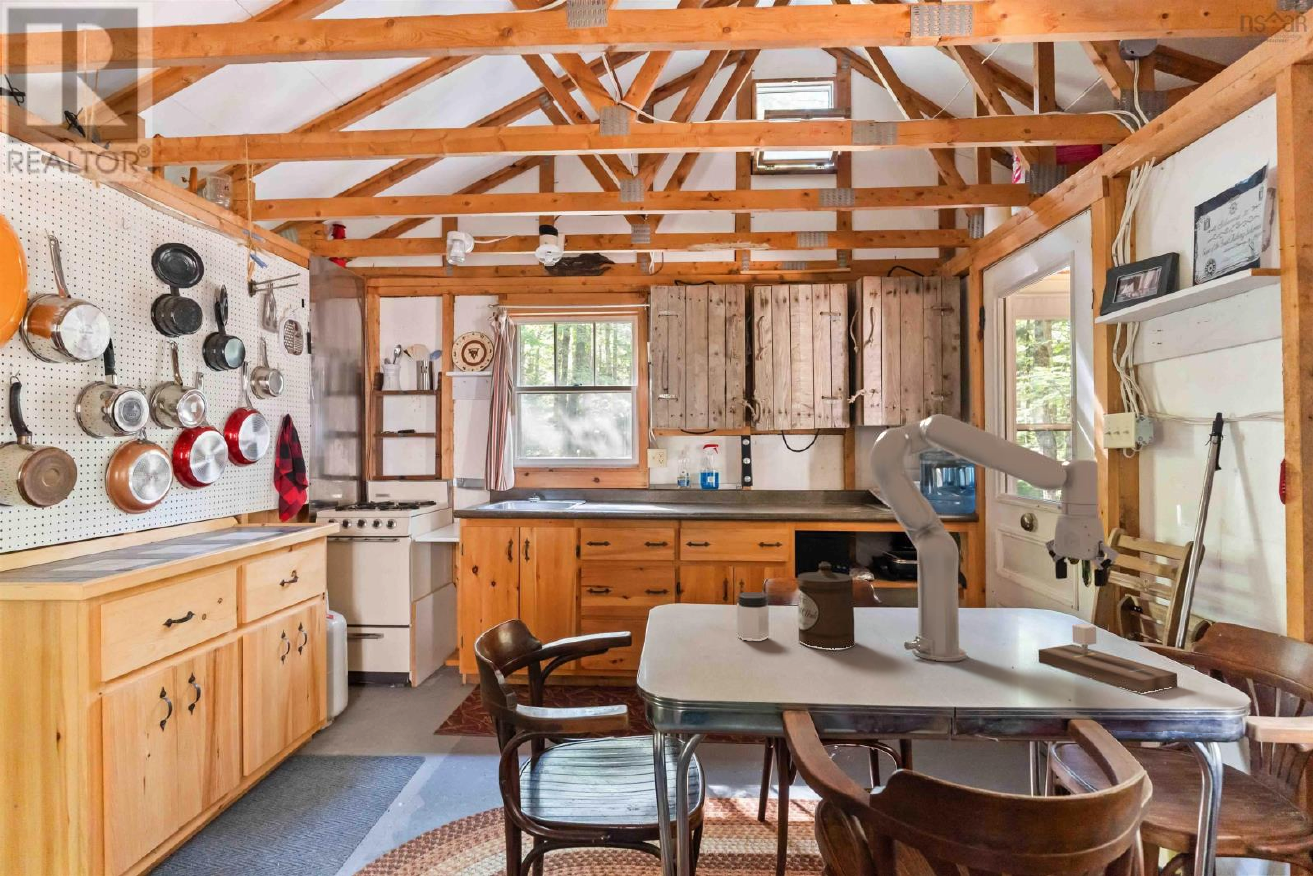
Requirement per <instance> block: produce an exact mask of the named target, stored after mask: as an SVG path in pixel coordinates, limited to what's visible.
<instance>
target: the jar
mask: <svg viewBox="0 0 1313 876" xmlns="http://www.w3.org/2000/svg"><path fill="white" fill-rule="evenodd" d="M769 614H770V613H769V605H768V595H767V594H766V593H762V592H755V591H754V592H753V591H752V592H751V591H750V592H747V591H746V592H741V593H738V595H737V603H736V635H737V634H738V635H739V636H741V637H742V638H752V639H761V638H764V637H767V636H769V637H770V631H769V629H770V627H769V626H770V625H769V624H770V623H769V619H770V617H769Z"/></svg>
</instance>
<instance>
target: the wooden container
mask: <svg viewBox="0 0 1313 876" xmlns="http://www.w3.org/2000/svg"><path fill="white" fill-rule="evenodd" d="M818 568H819V570H818V571H815V572H814V571H813V572H811V571H810V572H802V573H799V574H798V575H797V587H798V590H797V591H798V595H797V599H798V600H797V601H798V603H797V605H798V608H797V611H798V615H797V617H798V618H797V621H798V622H797V623H798V624H797V625H798V642H799V641H801V642H803V643H805V644H807V645H810V646H817V647H822V648H831V649H832V648H834V649H835V648H846V647H850V646H853V645H854V646H855V644H854V643H855V610H854V592H853V591H854V590H853V589H854V583H853V577H852V576H851V575H849V574H847V573H840V572H833V571H832V570H831V569H832V564H831V563H829V562H828V561H821V563H819V564H818ZM854 646H853V647H854Z"/></svg>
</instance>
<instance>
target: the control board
mask: <svg viewBox="0 0 1313 876" xmlns="http://www.w3.org/2000/svg"><path fill="white" fill-rule="evenodd" d="M1038 663H1040V664H1043V665H1046V664H1047V666H1050V667H1052V668H1057V669H1059V668H1060V669H1059V670H1062V669H1063V671H1065V670H1066V672H1069V673H1072V674H1075V673H1076V674H1075V675H1078V676H1081V677H1085V678H1088V679H1090V678H1092V679H1091V680H1093V679H1094V681H1097V682H1099V683H1100V682H1101V683H1103V682H1105V683H1104V684H1106V683H1107V684H1106V685H1109V684H1110V686H1112V685H1113V687H1115V686H1116V687H1115V688H1119V687H1122V688H1125V689H1128V690H1131V691H1137V692H1140V693H1144V692H1148V691H1155V690H1159V689H1164V688H1169V687H1176V688H1178V673H1177V672H1174V671H1169V670H1166V669H1162V668H1159V667H1156V666H1151V665H1148V664H1144V663H1141V662H1138V661H1134V660H1129V659H1126V658H1123V657H1119V656H1115V655H1112V654H1108V653H1105V652H1102V651H1099V650H1098V651H1097V650H1094V649H1091V648H1088V654H1087V655H1086V654H1082V646H1079V645H1078V644H1077V645H1076V644H1067V645H1066V644H1065V645H1059V646H1054V647H1047V648H1040V649H1038ZM1122 688H1121V689H1122ZM1125 689H1124V690H1125ZM1128 690H1127V691H1128ZM1131 691H1130V692H1131Z"/></svg>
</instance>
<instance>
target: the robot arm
mask: <svg viewBox="0 0 1313 876" xmlns="http://www.w3.org/2000/svg"><path fill="white" fill-rule="evenodd" d="M937 448H938V449H939V450H942V451H945V452H947V453H949V454H951V455H954V456H956V457H958V458H961V459H963V460H965V461H968V462H970V463H973V464H975V465H977V466H979V467H983V468H985V469H988V470H989V469H990V470H994V471H997V472H1000V473H1003V474H1006V475H1008V476H1011V477H1013V478H1015V479H1018V480H1020V481H1023V482H1025V483H1026V484H1028V485H1029V486H1031V487H1033V488H1036V489H1038V490H1043V491H1055V490H1058V489H1060V494H1061V495H1060V496H1061V497H1060V499H1061V500H1060V502H1061V503H1060V504H1058V505H1057V510H1058V511H1061V513H1060V514H1059V515H1058V516H1057V519H1056V523H1055V529H1054V539H1052V540H1049V541H1047V542H1045V546H1046V549H1047V551H1048V555H1049V556H1050V557H1051V558H1052V562H1054V563H1055V564H1054V566H1055V567H1054V569H1055V579H1056V580H1062V579H1063V580H1064V579H1068V563H1067V561H1066V560H1067V559H1068V558H1071V559H1077V560H1082V561H1091V562H1092V563H1093V565H1094V567H1096V568H1094V570H1093V571H1094V572H1093V573H1094V574H1093V575H1094V577H1093V583H1094V587H1106V586H1107V582H1108V570H1109V569H1110V567H1111V566H1113V565H1114V564H1115V561H1116V559H1117V558H1118V556H1119V552H1118V551H1117V550H1115V549H1114V548H1112V547H1110V546H1108V544H1106V540H1105V533H1104V526H1103V525H1104V524H1103V521H1102V518H1101V517H1099V469H1098V468H1099V467H1098V464H1097V462H1096V461H1094V460H1091V459H1067V460H1056V459H1054V458H1051V457H1049V456H1047V455H1044V454H1043V453H1039V452H1037V451H1035V450H1032V449H1029V448H1027V447H1024V446H1021V445H1020V444H1017V443H1015V442H1012V441H1009V440H1007V439H1005V438H1004V437H1001V436H998V435H996V434H993V433H991V432H988V431H986V430H983V429H981V428H978V427H975V426H974V425H971V424H969V423H967V422H964V421H962V420H959V419H956V418H954V417H953V416H952V417H951V416H949V415H947V414H946V415H945V414H943V413H942V414H941V413H936V414H932V415H930V416H928V417H927V418H924V419H922V420H919V421H915V422H911V423H909V424H906V425H902V426H899V427H890V428H886V429H885V430H883V431H882V432H881V433H880V435H879V436H878V437H877V439H876V440H875V442H874V445H873V446H872V448H871V451H870V455H869V469H870V471H871V472H870V473H871V476H872V478H873V481H875V484H876V486H877V487H878V489H879V491H880V493H881V494H882V496H883V498H884V500H885V501H886V502H887V504H888V506H889V507H890V509H891V511H892V513H893V514H894V518H895V520H896V521H897V523H898V524H899V525H900V526H901V528H902V529H903V531H904V532H905V533H906V535H907V537H908V538H909V540H910V541H911V543H912V545H913V547H914V548H915V549H916V554H917V555H916V557H917V558H916V559H917V561H916V562H917V609H918V610H917V614H918V615H917V616H918V635H915V639H914V640H913V641H911V640H910V641H906V642H904V643H903V647H904V648H905V650H906V651H907V650H912V653H913V655H915V656H917V657H920V658H922V659H925V660H930V659H931V660H930V661H935V660H936V662H937V661H938V662H959V661H964V660H965V659H966V658H967V654H966V653H967V652H966V651H965V650H964V649H962V648H960V634H959V632H960V631H959V630H960V629H959V628H960V627H959V625H960V624H959V619H960V618H959V548H958V545H957V543H956V540H955V539H954V538H953V536H952V535H951V533H949V531H948V529H947V528H946V526H945V524H944V523H943V522H942V520H941V519H940V517H939V516H938V514H937V513H936V511H935V509H934V508H933V506H932V504H931V503H930V501H929V500H928V499H927V497H925V496H924V495H923V493H922V492H921V491H920V489H919V488H918V486H917V484H916V483H915V482H914V480H913V477H912V476H911V474H910V473H909V471H908V469H907V468H906V465H905V458H907V457H908V458H909V457H910V456H914V455H918V454H921V453H924V452H929V451H931V450H935V449H937ZM1106 554H1107V557H1106ZM1105 557H1106V558H1105Z"/></svg>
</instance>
